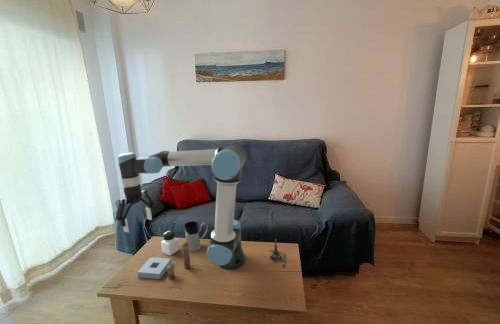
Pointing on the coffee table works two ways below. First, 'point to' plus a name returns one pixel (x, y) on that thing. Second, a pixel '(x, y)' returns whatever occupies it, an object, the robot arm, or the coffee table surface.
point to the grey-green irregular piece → (278, 255)
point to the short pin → (170, 271)
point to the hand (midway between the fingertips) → (138, 225)
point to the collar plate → (152, 272)
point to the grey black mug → (193, 235)
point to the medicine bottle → (169, 243)
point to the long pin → (186, 255)
